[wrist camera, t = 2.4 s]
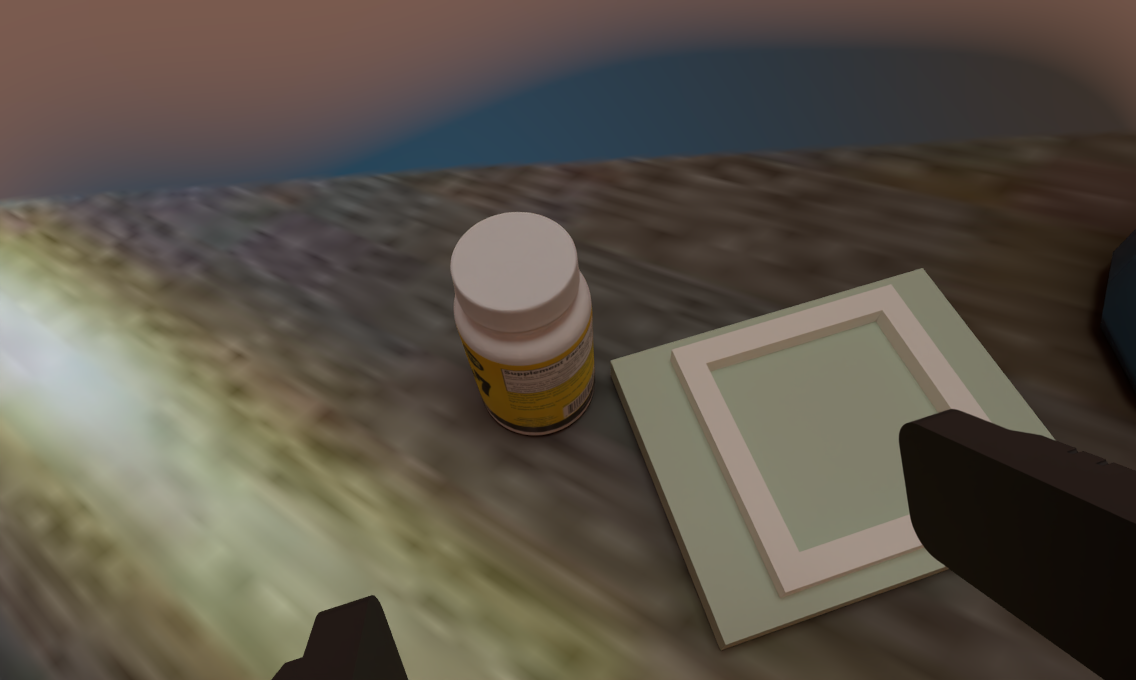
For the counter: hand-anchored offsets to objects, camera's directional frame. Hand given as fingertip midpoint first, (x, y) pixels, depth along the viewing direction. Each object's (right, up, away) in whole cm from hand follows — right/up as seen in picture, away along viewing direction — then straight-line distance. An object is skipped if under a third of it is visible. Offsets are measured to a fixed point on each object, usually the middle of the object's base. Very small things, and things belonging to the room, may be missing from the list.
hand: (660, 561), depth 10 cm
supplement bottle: (-3, +1, +18) cm, 19 cm away
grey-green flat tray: (+9, -1, +16) cm, 18 cm away
